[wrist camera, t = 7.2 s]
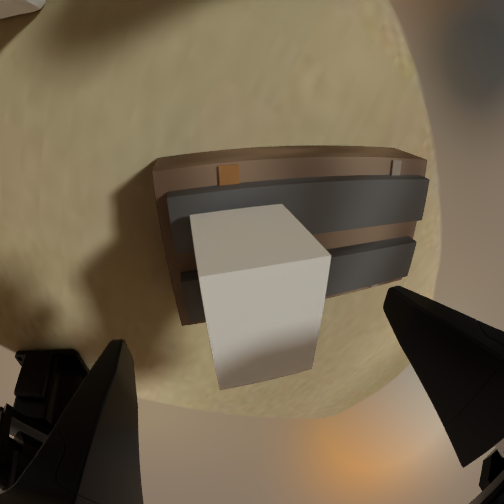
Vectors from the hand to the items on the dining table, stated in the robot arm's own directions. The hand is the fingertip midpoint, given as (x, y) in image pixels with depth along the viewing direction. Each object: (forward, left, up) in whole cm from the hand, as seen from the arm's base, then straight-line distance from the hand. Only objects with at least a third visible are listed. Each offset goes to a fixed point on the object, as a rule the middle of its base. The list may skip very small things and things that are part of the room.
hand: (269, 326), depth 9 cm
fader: (0, 0, -5) cm, 5 cm away
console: (0, -4, -8) cm, 9 cm away
